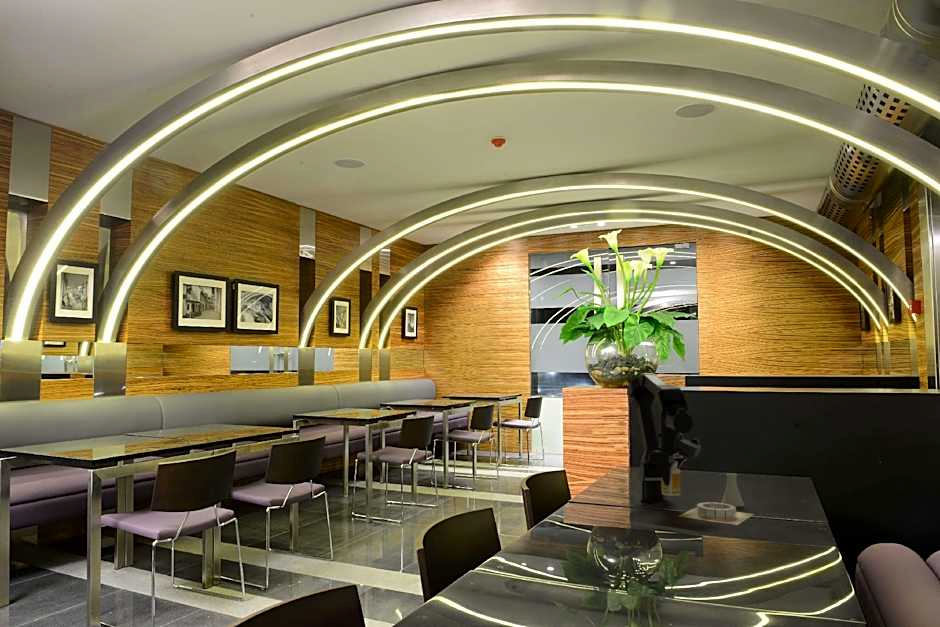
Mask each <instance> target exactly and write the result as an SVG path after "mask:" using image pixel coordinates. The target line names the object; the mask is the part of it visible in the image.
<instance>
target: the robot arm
mask: <svg viewBox="0 0 940 627" xmlns="http://www.w3.org/2000/svg"><path fill="white" fill-rule="evenodd" d="M626 393H627V394H626V395H627V397H628V398H629V403H630V405H631V406H632V407H633V408H634V409H635V410H636V412H637V419H638V423H639V428H640V435H641V440H642V448H643V450H644V451H643V454H642V456H641V459H640V465H639V468H638V471H637V473H636V476H637V481H638V482H640V483H641V499H639V502H641V503H649V504H656V503H658V502H661V501H662V502H664V501H666V500H667V495H663V494H662V492H661V477H662V480H663V482H664V484H665V485H669V482H670V474H671V467H672V466H673V465H674V464H675V463H676V462H673V460H676V461H677V462H678V466H677V468H678V469H679V470H680V471H681V466H682V465H683V463H684V462H686V461H687V460H688V458H691V459H695V458H698V456H699V454H700V452H701V451H702V445H701V442H700V440H699V439H697V438H693V439H691V440H689V439H685V438H684V434H687V433H689V432H690V431H691V430H692V429H693V427H694V421H693V418H692V417H691V416H690V414H688V413H687V412H688V411H689V404H688V402H687V399H686V397H685V394H684V392H683V391H682V389H681V387H679V386H676V385H670V384H669V385H668V384H667V383H666V382H664V381H663V380H662V379H661V378H659V376H658V375H657V374H656V373H654V372H642V373H640V374H639V375H638V377H636V378H634V379H633V380H631V381H630V383H629V384H628V386H627V390H626ZM654 401H655V403H656V406H657V407H658V411H657V413H658V415H659V418H658V419H659V432H657V431H656V425H655V420H654V416H653V415H654V414H653V410H652V405H653V403H654ZM658 438H659V441H658ZM683 456H685V457H683Z"/></svg>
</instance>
